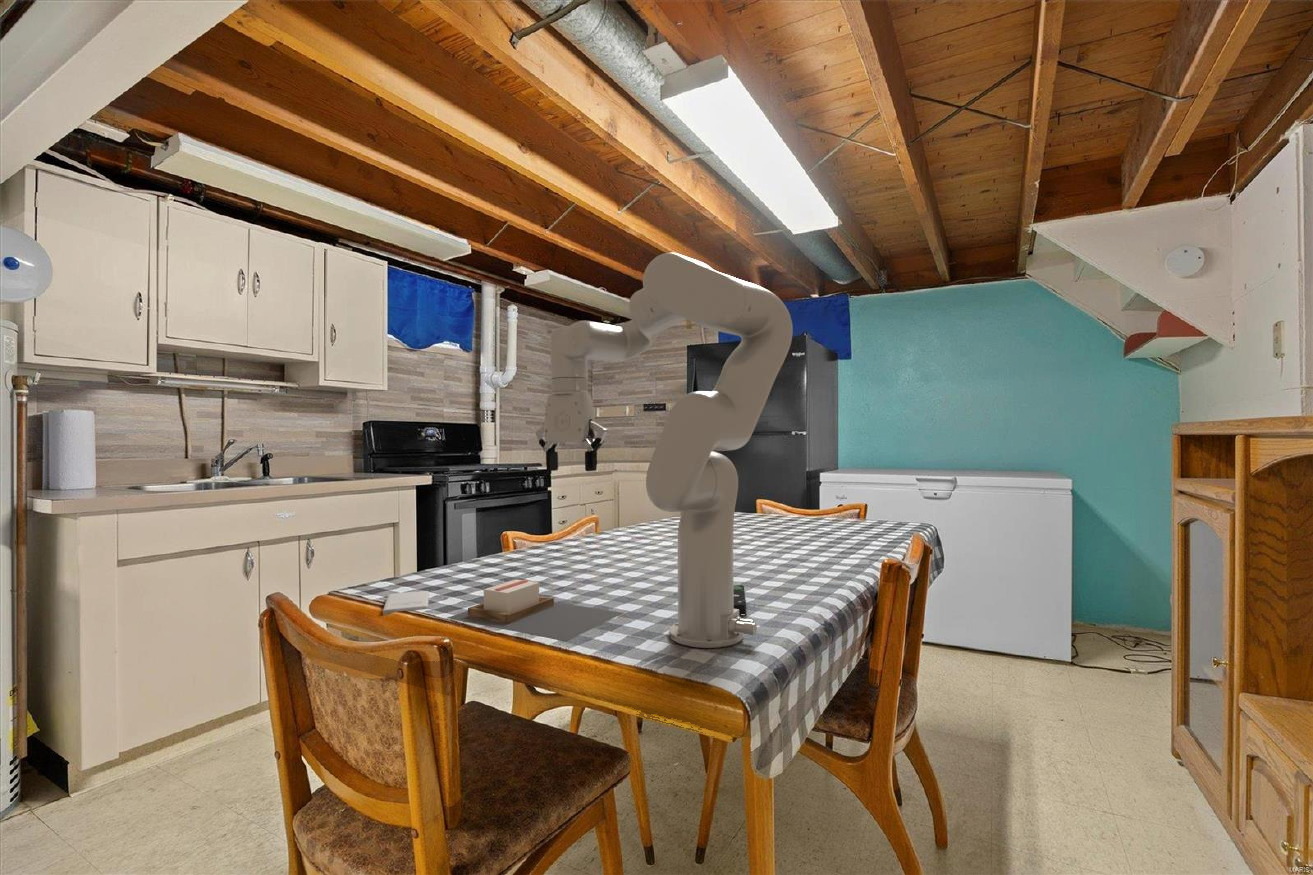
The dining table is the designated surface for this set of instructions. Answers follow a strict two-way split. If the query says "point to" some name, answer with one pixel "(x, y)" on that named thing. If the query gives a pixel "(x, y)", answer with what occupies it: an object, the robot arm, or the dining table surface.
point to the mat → (552, 621)
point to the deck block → (511, 596)
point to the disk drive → (739, 599)
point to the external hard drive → (406, 602)
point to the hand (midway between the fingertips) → (571, 470)
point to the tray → (511, 617)
